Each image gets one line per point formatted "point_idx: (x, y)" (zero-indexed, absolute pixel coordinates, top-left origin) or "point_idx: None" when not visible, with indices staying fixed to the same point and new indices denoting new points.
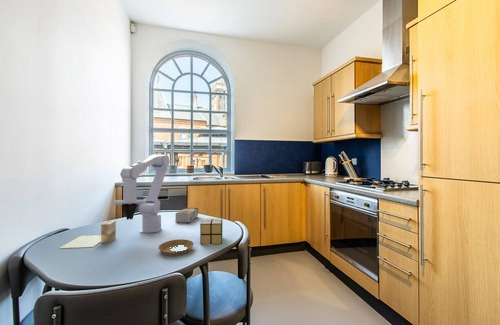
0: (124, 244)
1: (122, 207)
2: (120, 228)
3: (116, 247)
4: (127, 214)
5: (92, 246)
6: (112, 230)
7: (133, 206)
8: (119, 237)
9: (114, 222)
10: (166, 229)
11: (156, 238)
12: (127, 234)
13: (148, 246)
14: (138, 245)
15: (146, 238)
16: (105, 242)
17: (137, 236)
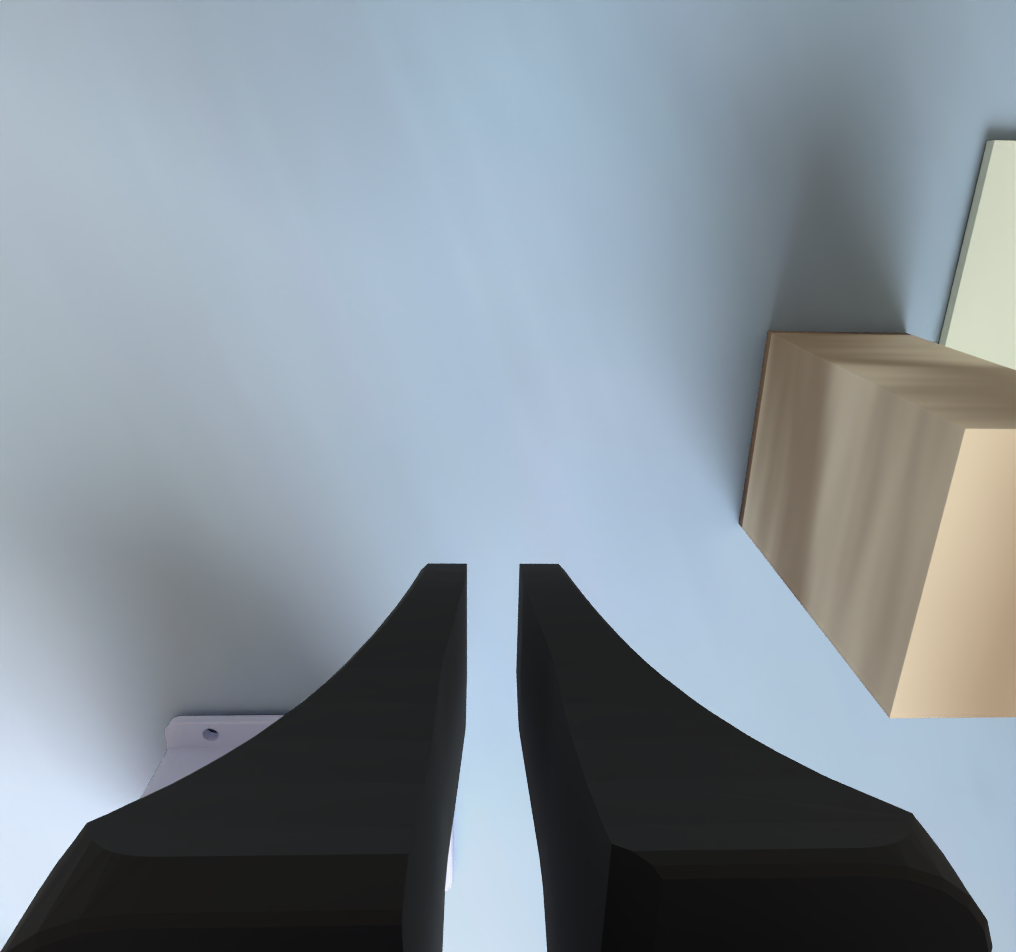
0: (501, 215)
1: (873, 815)
2: None
3: (588, 71)
4: (544, 637)
5: (1006, 148)
6: (834, 479)
7: (64, 873)
8: (696, 563)
9: (889, 648)
10: None
11: (62, 450)
12: None
13: (5, 33)
14: (225, 122)
15: (238, 470)
16: (843, 334)
17: None
